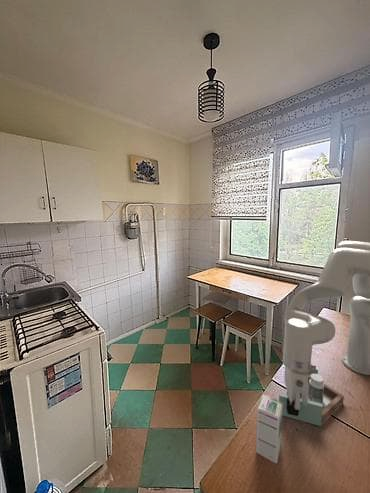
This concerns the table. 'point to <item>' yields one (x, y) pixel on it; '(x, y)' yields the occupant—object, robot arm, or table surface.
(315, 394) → the pill bottle
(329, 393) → the bay
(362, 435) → the table surface
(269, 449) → the syrup box
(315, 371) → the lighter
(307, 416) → the gate
